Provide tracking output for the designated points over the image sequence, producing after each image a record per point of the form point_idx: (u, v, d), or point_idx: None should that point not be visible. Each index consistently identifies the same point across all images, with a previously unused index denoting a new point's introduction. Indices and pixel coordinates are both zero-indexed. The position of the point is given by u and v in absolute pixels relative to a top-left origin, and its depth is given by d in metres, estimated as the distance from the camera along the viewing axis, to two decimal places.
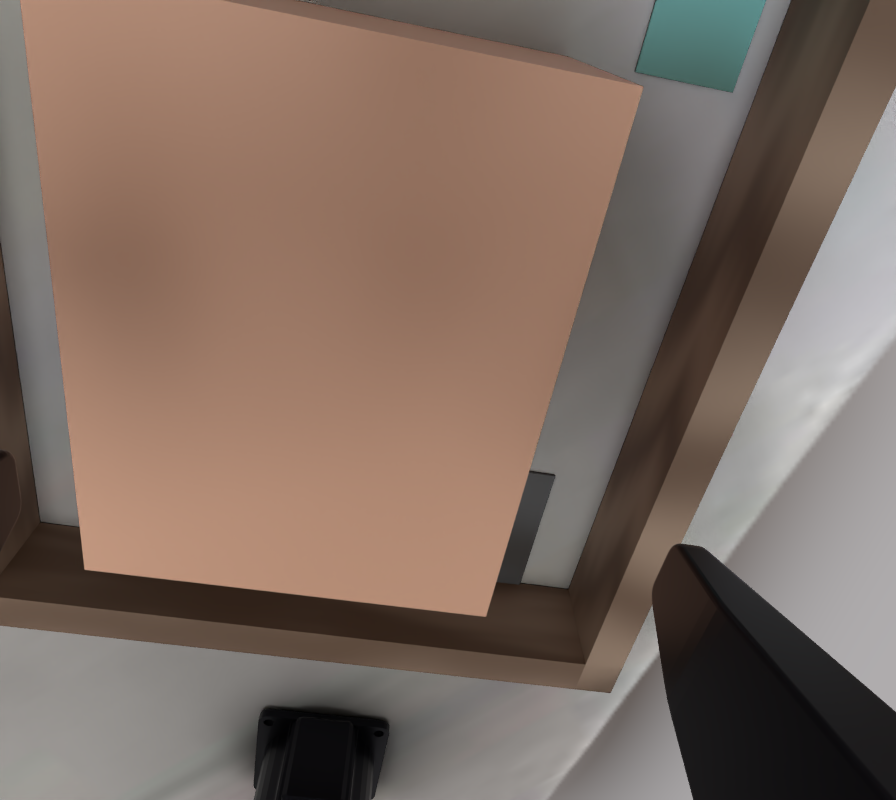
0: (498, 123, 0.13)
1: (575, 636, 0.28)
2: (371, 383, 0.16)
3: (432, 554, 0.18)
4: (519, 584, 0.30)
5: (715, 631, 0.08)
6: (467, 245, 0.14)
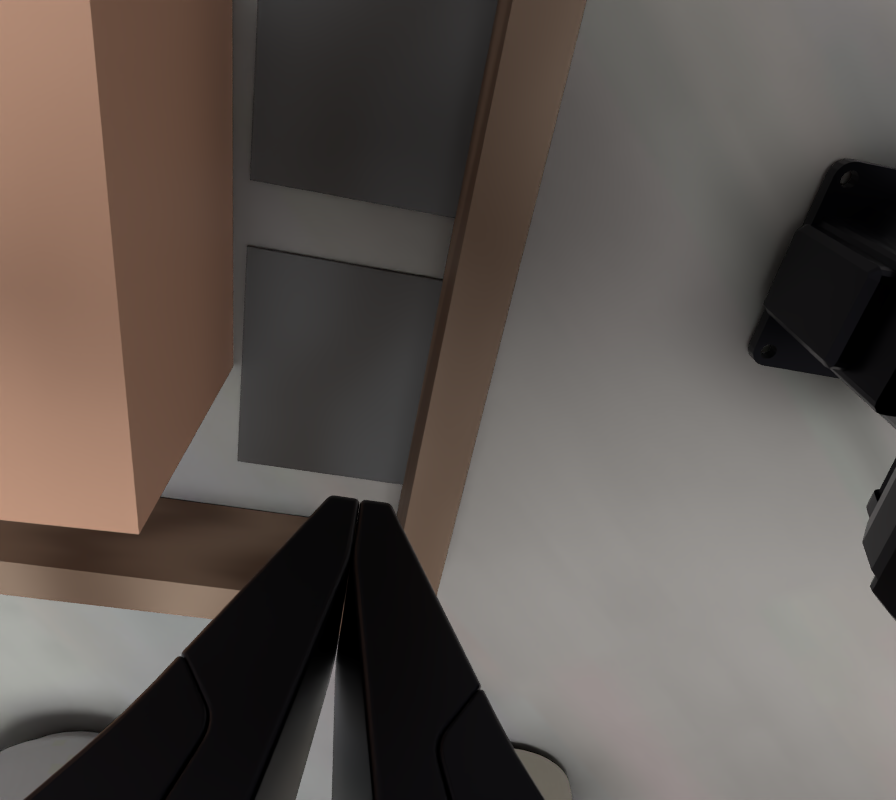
0: None
1: None
2: None
3: None
4: None
5: (350, 586, 0.08)
6: None
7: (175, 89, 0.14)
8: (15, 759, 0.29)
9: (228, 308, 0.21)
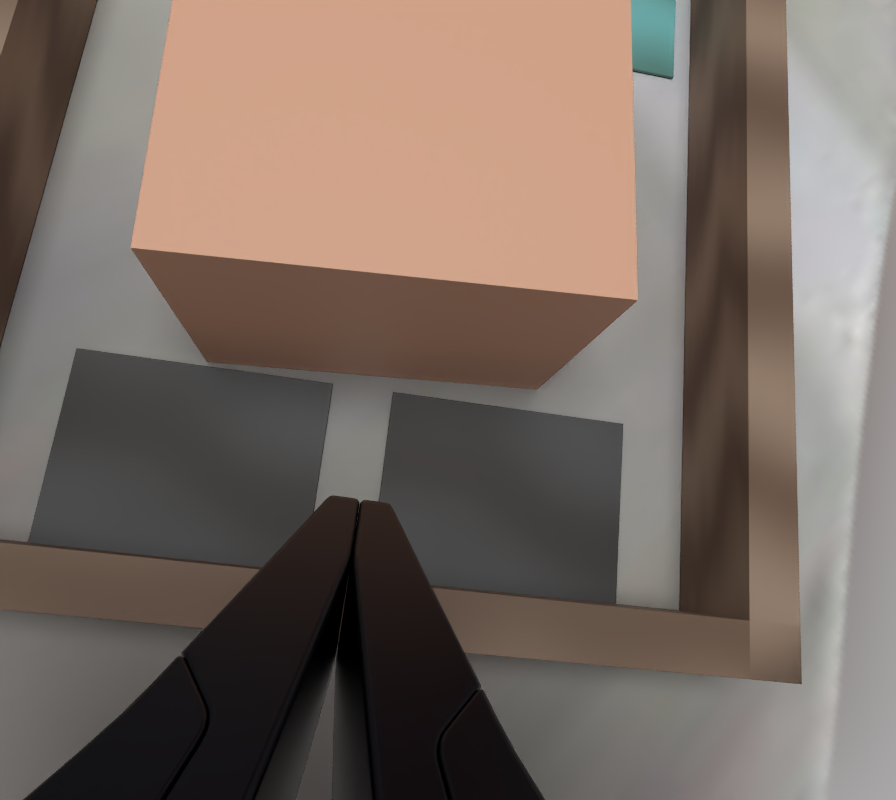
0: None
1: (717, 616, 0.20)
2: (469, 16, 0.17)
3: (558, 208, 0.16)
4: (615, 603, 0.22)
5: (350, 586, 0.08)
6: None
7: (513, 342, 0.19)
8: None
9: (279, 363, 0.22)
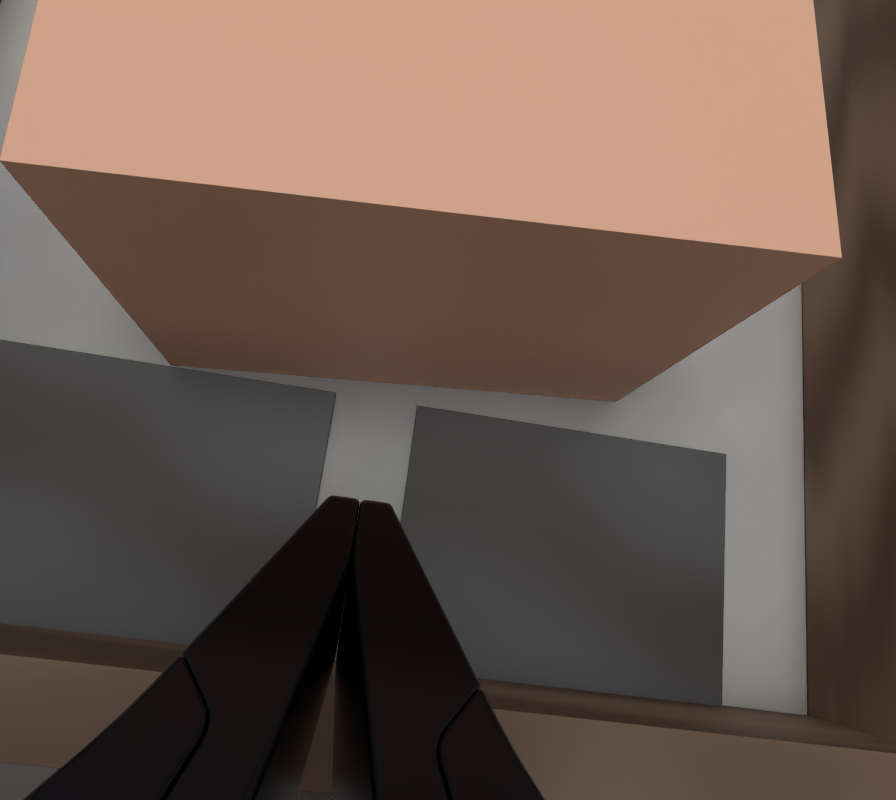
0: None
1: (886, 740, 0.14)
2: None
3: (707, 112, 0.10)
4: (720, 704, 0.16)
5: (350, 586, 0.08)
6: None
7: (609, 333, 0.13)
8: None
9: (269, 366, 0.16)
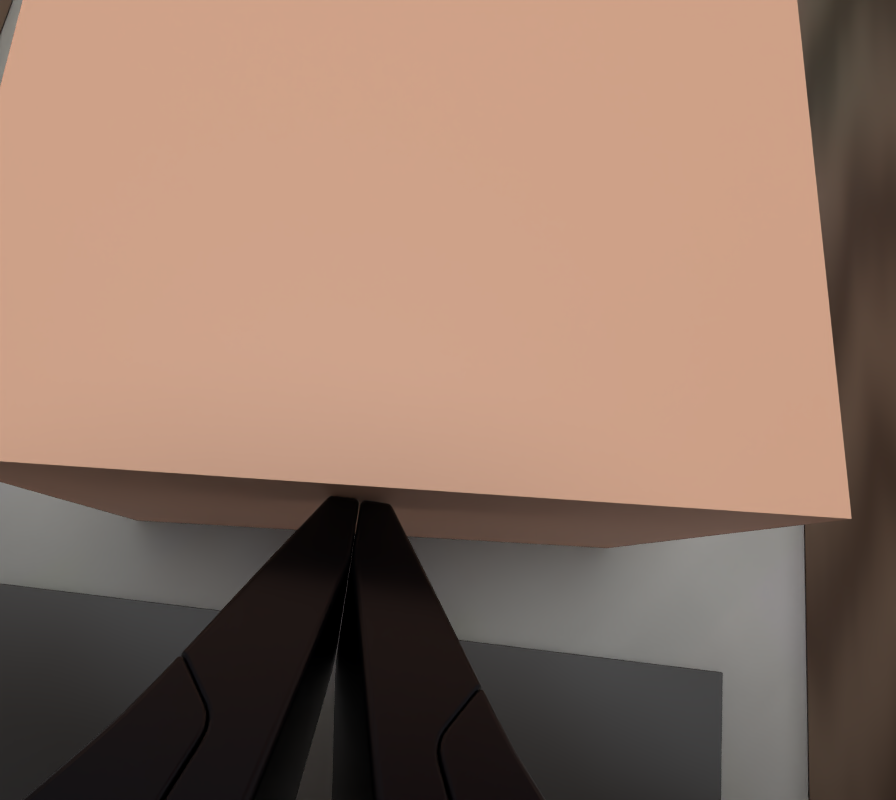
0: None
1: None
2: (540, 17, 0.10)
3: (703, 349, 0.09)
4: None
5: (350, 586, 0.08)
6: None
7: (597, 529, 0.12)
8: None
9: (239, 524, 0.15)
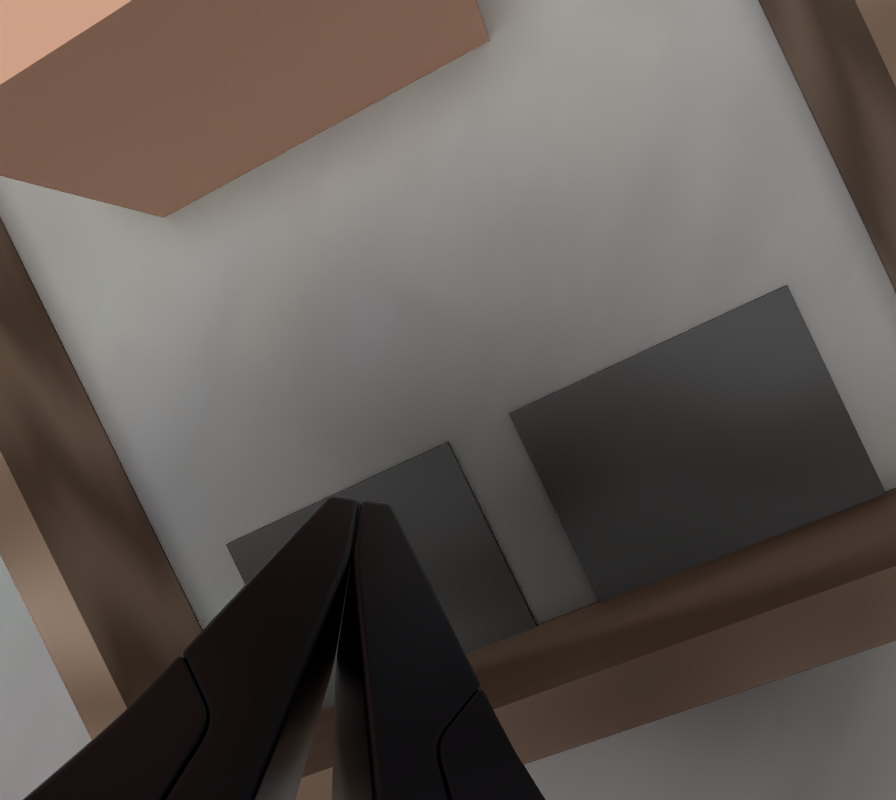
0: None
1: None
2: None
3: None
4: (884, 492, 0.18)
5: (350, 586, 0.08)
6: None
7: None
8: None
9: (216, 179, 0.20)
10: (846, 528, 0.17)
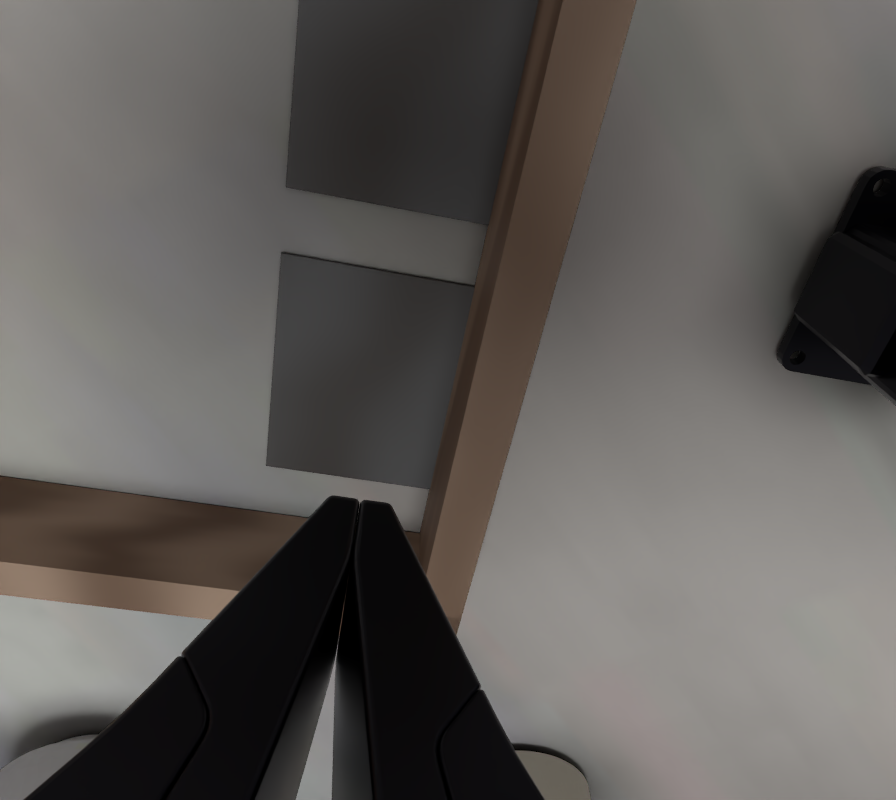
0: None
1: None
2: None
3: None
4: None
5: (350, 586, 0.08)
6: None
7: None
8: (39, 762, 0.29)
9: None
10: None
